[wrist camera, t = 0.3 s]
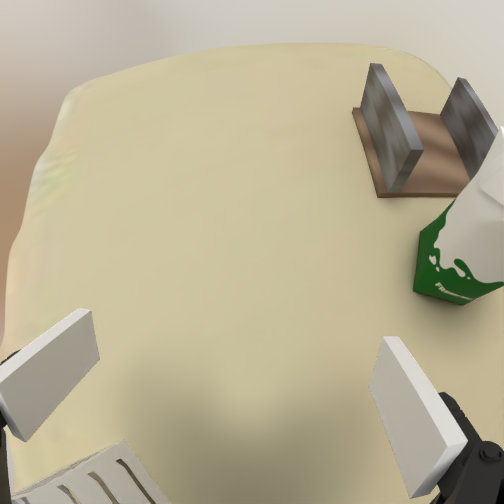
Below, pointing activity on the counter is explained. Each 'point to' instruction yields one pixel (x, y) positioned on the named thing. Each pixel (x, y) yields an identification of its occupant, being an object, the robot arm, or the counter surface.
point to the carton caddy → (422, 140)
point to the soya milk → (467, 238)
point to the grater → (88, 489)
